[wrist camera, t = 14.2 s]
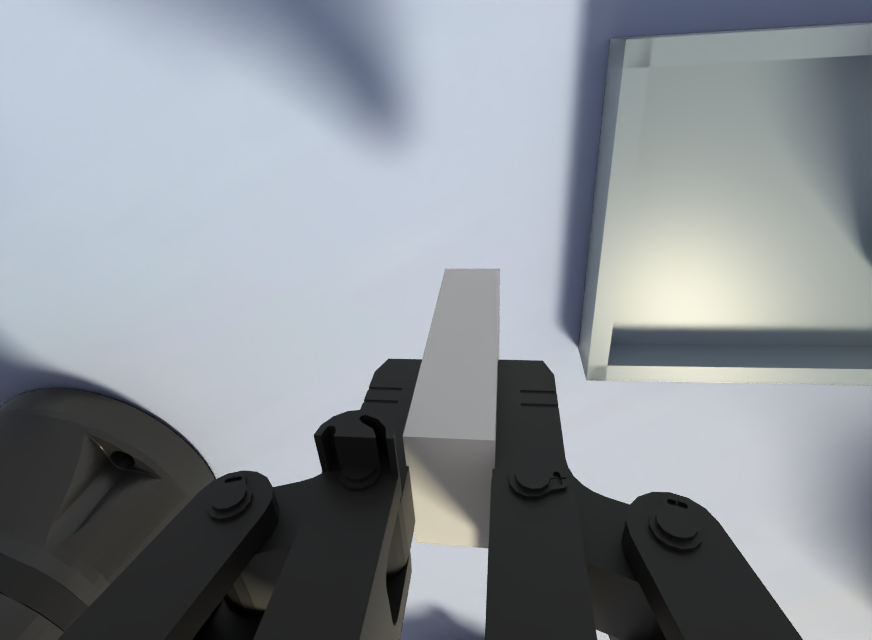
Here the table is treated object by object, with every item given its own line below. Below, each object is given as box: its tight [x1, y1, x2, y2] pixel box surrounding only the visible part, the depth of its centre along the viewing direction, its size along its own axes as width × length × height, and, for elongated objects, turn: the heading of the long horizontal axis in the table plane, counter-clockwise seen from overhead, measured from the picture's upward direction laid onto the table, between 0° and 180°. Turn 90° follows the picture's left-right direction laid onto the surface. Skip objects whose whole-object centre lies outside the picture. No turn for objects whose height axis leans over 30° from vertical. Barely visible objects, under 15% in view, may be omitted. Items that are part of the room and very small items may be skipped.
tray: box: [578, 22, 872, 385], centre depth 18 cm, size 18×13×2 cm
